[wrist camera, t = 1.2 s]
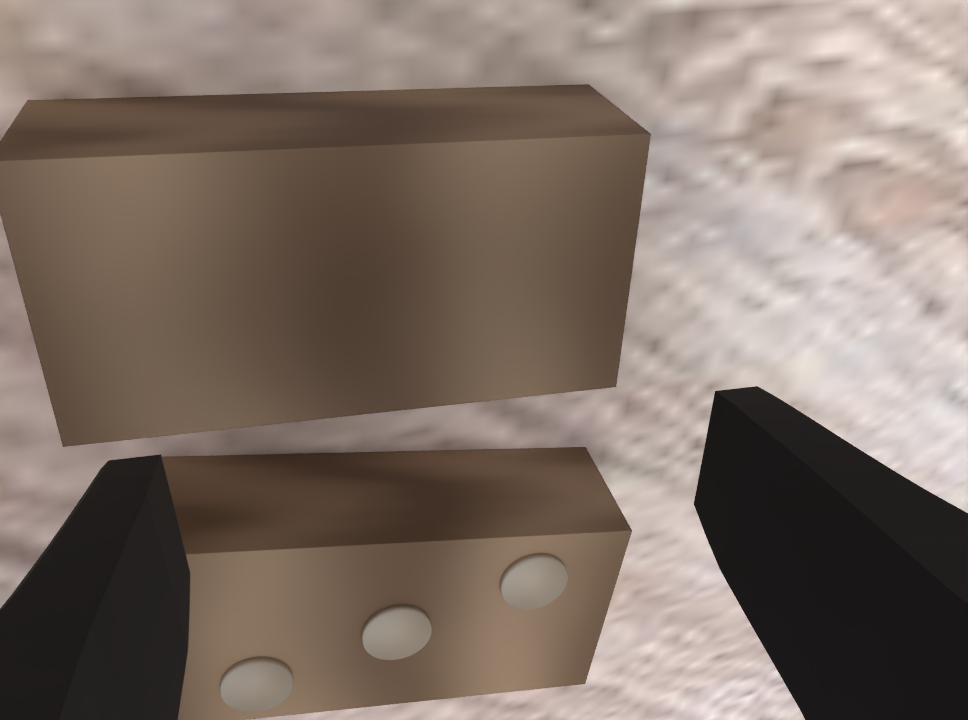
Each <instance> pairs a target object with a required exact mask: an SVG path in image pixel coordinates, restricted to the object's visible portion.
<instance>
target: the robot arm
mask: <svg viewBox="0 0 968 720" xmlns="http://www.w3.org/2000/svg"><path fill="white" fill-rule="evenodd" d="M694 506H695V508H696V511H697V513H698V516H699V519H700V521H701V524H702V526H703V529H704V532H705V534H706V537H707V539H708V542H709V544H710V547H711V549H712V551H713V554H714V556H715V558H716V561H717V563H718V565H719V568H720V570H721V572H722V573H723V575H724V577H725V579H726V581H727V583H728V584H729V586H730V588H731V590H732V592H733V593H734V595H735V597H736V599H737V600H738V602H739V604H740V606H741V608H742V609H743V611H744V613H745V615H746V616H747V618H748V620H749V622H750V623H751V625H752V627H753V629H754V630H755V632H756V634H757V636H758V637H759V639H760V641H761V642H762V644H763V646H764V648H765V649H766V651H767V653H768V655H769V656H770V658H771V660H772V662H773V663H774V665H775V667H776V668H777V670H778V672H779V674H780V675H781V677H782V679H783V681H784V682H785V684H786V686H787V688H788V689H789V691H790V693H791V695H792V696H793V698H794V700H795V701H796V703H797V705H798V707H799V708H800V710H801V712H802V714H803V716H804V718H805V720H968V513H966V512H964V511H963V510H961V509H959V508H957V507H955V506H954V505H952V504H950V503H948V502H946V501H945V500H943V499H941V498H939V497H937V496H936V495H934V494H932V493H930V492H928V491H927V490H925V489H923V488H922V487H920V486H918V485H917V484H915V483H913V482H911V481H910V480H908V479H906V478H905V477H903V476H901V475H900V474H898V473H896V472H895V471H893V470H891V469H890V468H888V467H887V466H885V465H883V464H882V463H880V462H878V461H877V460H875V459H874V458H872V457H870V456H869V455H867V454H866V453H864V452H862V451H861V450H859V449H858V448H856V447H854V446H853V445H851V444H850V443H848V442H847V441H845V440H843V439H842V438H840V437H839V436H837V435H836V434H834V433H832V432H831V431H829V430H828V429H826V428H825V427H823V426H822V425H820V424H818V423H817V422H815V421H814V420H812V419H811V418H809V417H807V416H806V415H804V414H803V413H801V412H800V411H798V410H796V409H795V408H793V407H792V406H790V405H788V404H787V403H785V402H784V401H782V400H780V399H779V398H777V397H775V396H774V395H772V394H770V393H768V392H767V391H765V390H763V389H761V388H759V387H757V386H756V387H747V388H739V389H730V390H721V391H715V395H714V401H713V406H712V411H711V416H710V422H709V427H708V432H707V438H706V443H705V448H704V453H703V459H702V464H701V469H700V475H699V480H698V485H697V491H696V496H695V501H694ZM189 614H190V570H189V566H188V562H187V558H186V554H185V550H184V545H183V541H182V537H181V533H180V529H179V525H178V521H177V517H176V513H175V509H174V505H173V501H172V497H171V493H170V489H169V485H168V481H167V477H166V473H165V469H164V465H163V461H162V457H161V455H154V456H145V457H136V458H127V459H119V460H110V461H108V462H107V463H106V464H105V465H104V466H103V467H102V468H101V470H100V471H99V473H98V474H97V476H96V477H95V478H94V480H93V481H92V483H91V484H90V486H89V487H88V489H87V490H86V492H85V493H84V495H83V496H82V498H81V499H80V501H79V502H78V504H77V505H76V507H75V508H74V510H73V511H72V512H71V514H70V515H69V517H68V518H67V520H66V521H65V523H64V524H63V525H62V527H61V528H60V530H59V531H58V533H57V534H56V535H55V537H54V538H53V540H52V541H51V543H50V544H49V545H48V547H47V548H46V549H45V551H44V552H43V553H42V555H41V556H40V557H39V559H38V560H37V561H36V563H35V564H34V566H33V567H32V568H31V570H30V571H29V572H28V574H27V575H26V576H25V578H24V579H23V580H22V582H21V583H20V584H19V586H18V587H17V588H16V590H15V591H14V592H13V594H12V595H11V596H10V598H9V599H8V600H7V601H6V603H5V604H4V605H3V606H2V608H1V609H0V720H178V715H179V708H180V702H181V695H182V688H183V681H184V675H185V668H186V661H187V654H188V642H189Z"/></svg>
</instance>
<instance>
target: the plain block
mask: <svg viewBox="0 0 968 720" xmlns="http://www.w3.org/2000/svg"><path fill="white" fill-rule="evenodd" d="M650 136H651V134H650V133H649V132H648V131H646V130H645V129H644V128H643V127H641V126H640V125H639V124H638V123H636V122H635V121H634V120H633V119H631V118H630V117H629V116H627V115H626V114H625V113H624V112H622V111H621V110H620V109H619V108H617V107H616V106H615V105H614V104H612V103H611V102H610V101H609V100H607V99H606V98H605V97H603V96H602V95H601V94H600V93H598V92H597V91H596V90H595V89H593V88H592V87H591V86H590V85H555V86H519V87H484V88H449V89H414V90H379V91H344V92H309V93H274V94H239V95H204V96H169V97H134V98H99V99H64V100H28V101H27V102H26V104H25V105H24V107H23V108H22V110H21V111H20V113H19V114H18V116H17V117H16V119H15V120H14V122H13V123H12V125H11V126H10V128H9V129H8V131H7V132H6V134H5V135H4V137H3V138H2V139H1V141H0V214H1V217H2V221H3V225H4V229H5V232H6V236H7V240H8V243H9V247H10V251H11V255H12V258H13V262H14V266H15V270H16V273H17V277H18V281H19V284H20V288H21V292H22V296H23V299H24V303H25V307H26V310H27V314H28V318H29V322H30V325H31V329H32V333H33V337H34V340H35V344H36V348H37V351H38V355H39V359H40V363H41V366H42V370H43V374H44V378H45V381H46V385H47V389H48V392H49V396H50V400H51V404H52V407H53V411H54V415H55V418H56V422H57V426H58V430H59V433H60V437H61V441H62V445H63V447H65V446H75V445H84V444H93V443H102V442H112V441H121V440H130V439H139V438H148V437H158V436H167V435H176V434H185V433H195V432H204V431H213V430H222V429H232V428H241V427H250V426H259V425H269V424H278V423H287V422H296V421H306V420H315V419H324V418H333V417H342V416H352V415H361V414H370V413H379V412H389V411H398V410H407V409H416V408H426V407H435V406H444V405H453V404H463V403H472V402H481V401H490V400H499V399H509V398H518V397H527V396H536V395H546V394H555V393H564V392H573V391H583V390H592V389H601V388H610V387H616V384H617V376H618V369H619V362H620V354H621V347H622V340H623V333H624V325H625V318H626V311H627V303H628V296H629V289H630V282H631V274H632V267H633V260H634V252H635V245H636V238H637V230H638V223H639V216H640V209H641V201H642V194H643V187H644V179H645V172H646V165H647V158H648V150H649V143H650Z"/></svg>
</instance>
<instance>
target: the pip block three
mask: <svg viewBox="0 0 968 720" xmlns="http://www.w3.org/2000/svg"><path fill="white" fill-rule="evenodd" d="M162 461H163V465H164V469H165V473H166V477H167V481H168V485H169V489H170V493H171V497H172V501H173V505H174V509H175V513H176V517H177V521H178V525H179V529H180V533H181V537H182V541H183V545H184V550H185V554H186V558H187V562H188V566H189V570H190V614H189V642H188V654H187V661H186V668H185V675H184V681H183V688H182V695H181V702H180V708H179V715H178V720H246V719H256V718H265V717H275V716H284V715H294V714H304V713H313V712H323V711H332V710H342V709H351V708H361V707H370V706H380V705H389V704H399V703H408V702H418V701H427V700H437V699H446V698H456V697H465V696H475V695H484V694H494V693H503V692H513V691H522V690H532V689H542V688H551V687H561V686H570V685H580V684H585V682H586V679H587V676H588V672H589V669H590V666H591V662H592V659H593V656H594V653H595V649H596V646H597V643H598V640H599V636H600V633H601V630H602V627H603V623H604V620H605V617H606V614H607V610H608V607H609V604H610V601H611V597H612V594H613V591H614V588H615V584H616V581H617V578H618V575H619V571H620V568H621V565H622V561H623V558H624V555H625V552H626V548H627V545H628V542H629V539H630V535H631V532H632V530H631V528H630V526H629V524H628V523H627V521H626V519H625V517H624V515H623V514H622V512H621V510H620V508H619V506H618V505H617V503H616V501H615V499H614V497H613V496H612V494H611V492H610V490H609V488H608V487H607V485H606V483H605V481H604V479H603V478H602V476H601V474H600V472H599V470H598V469H597V467H596V465H595V463H594V461H593V460H592V458H591V456H590V454H589V452H588V451H587V449H586V447H572V448H528V449H484V450H441V451H397V452H354V453H310V454H267V455H223V456H179V457H162Z"/></svg>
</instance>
